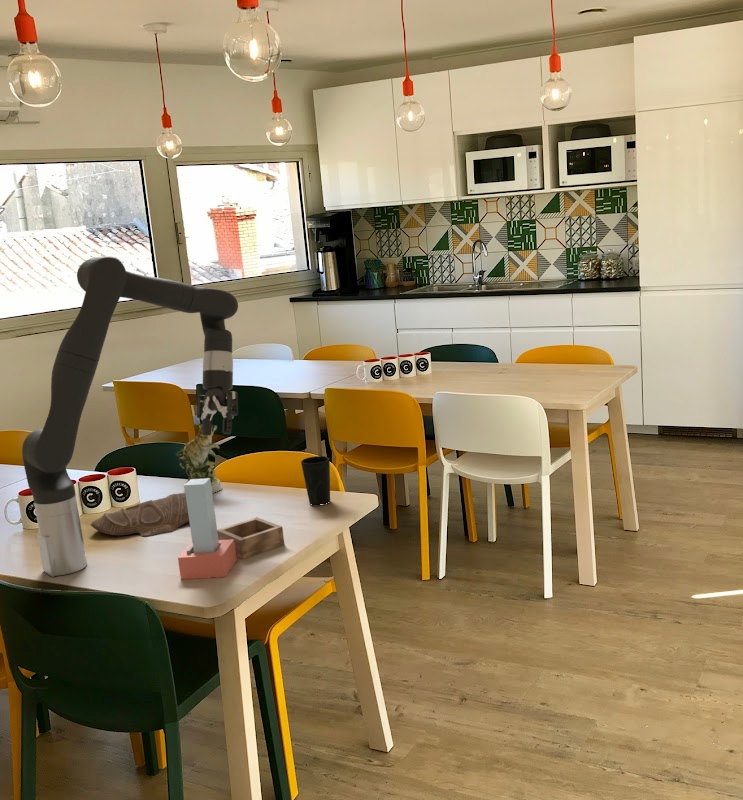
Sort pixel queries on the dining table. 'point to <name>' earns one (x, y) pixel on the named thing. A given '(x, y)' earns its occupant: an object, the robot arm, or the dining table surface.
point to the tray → (253, 536)
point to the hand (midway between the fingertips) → (216, 434)
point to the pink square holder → (207, 561)
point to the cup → (317, 479)
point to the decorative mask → (146, 517)
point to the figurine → (200, 458)
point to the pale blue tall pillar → (201, 515)
